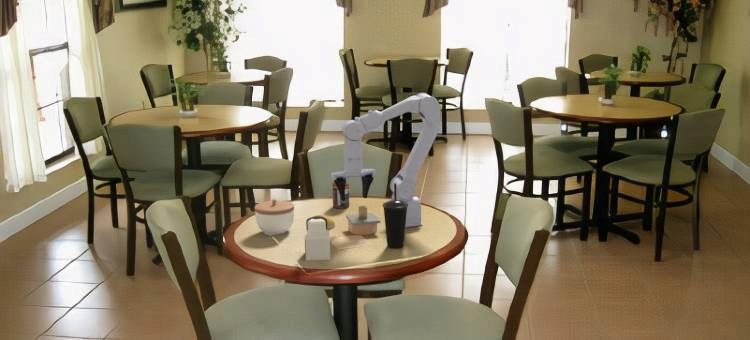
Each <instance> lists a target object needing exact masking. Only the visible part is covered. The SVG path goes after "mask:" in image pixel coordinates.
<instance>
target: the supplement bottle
mask: <svg viewBox="0 0 750 340" xmlns="http://www.w3.org/2000/svg"><path fill="white" fill-rule="evenodd" d="M343 179H344V181H345V182H346V184H345V201H342V200H341V198H340V194H339V190H338V188H337V186H336V184H335V182H334V181H333V182H332V206H333V208H336V209H346V208H349V206H350V183H349V182H348V181H347V178H343Z"/></svg>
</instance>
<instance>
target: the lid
mask: <svg viewBox="0 0 750 340" xmlns="http://www.w3.org/2000/svg"><path fill="white" fill-rule="evenodd" d="M345 218H346V219H347V221H348V220H349V222H350V223H351V224H352V225H364V224H375V223H377V224H381V219H379V218H378V217H377V215H376V214H375V213H373V212H368V206H366V205H360V206H358V214H357V213H356V214H347V215H345Z"/></svg>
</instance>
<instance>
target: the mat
mask: <svg viewBox="0 0 750 340" xmlns="http://www.w3.org/2000/svg"><path fill="white" fill-rule="evenodd" d="M330 244H332V245H333V246H334V247H335V248H336V249H337V250H339V251H340V250H347V249H355V248H358V247H359V248H360V247H368V246H373V243H371V242H370V241H369V240H367V239H366V238H365V237H364V236H363V235H358V234H354V235H353V234H352V235H347V236H340V237H339V236H338V237H330Z"/></svg>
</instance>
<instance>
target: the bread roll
mask: <svg viewBox="0 0 750 340" xmlns="http://www.w3.org/2000/svg"><path fill="white" fill-rule="evenodd" d="M315 216H320V217H324V218H326V219H327V230H328V231H329V230H331V229H333V228H335V226H336V223H335V220H334V219H332V218H330V217H327V216H324V215H322V214H318V215H314V216H313V217H315Z"/></svg>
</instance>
